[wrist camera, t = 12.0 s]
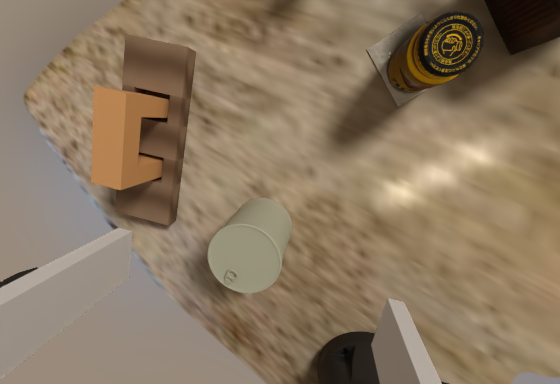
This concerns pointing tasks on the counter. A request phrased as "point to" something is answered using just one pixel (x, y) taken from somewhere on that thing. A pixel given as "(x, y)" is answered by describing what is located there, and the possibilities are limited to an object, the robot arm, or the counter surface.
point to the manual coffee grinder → (525, 22)
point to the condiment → (427, 53)
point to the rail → (158, 123)
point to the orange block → (123, 137)
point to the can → (251, 246)
